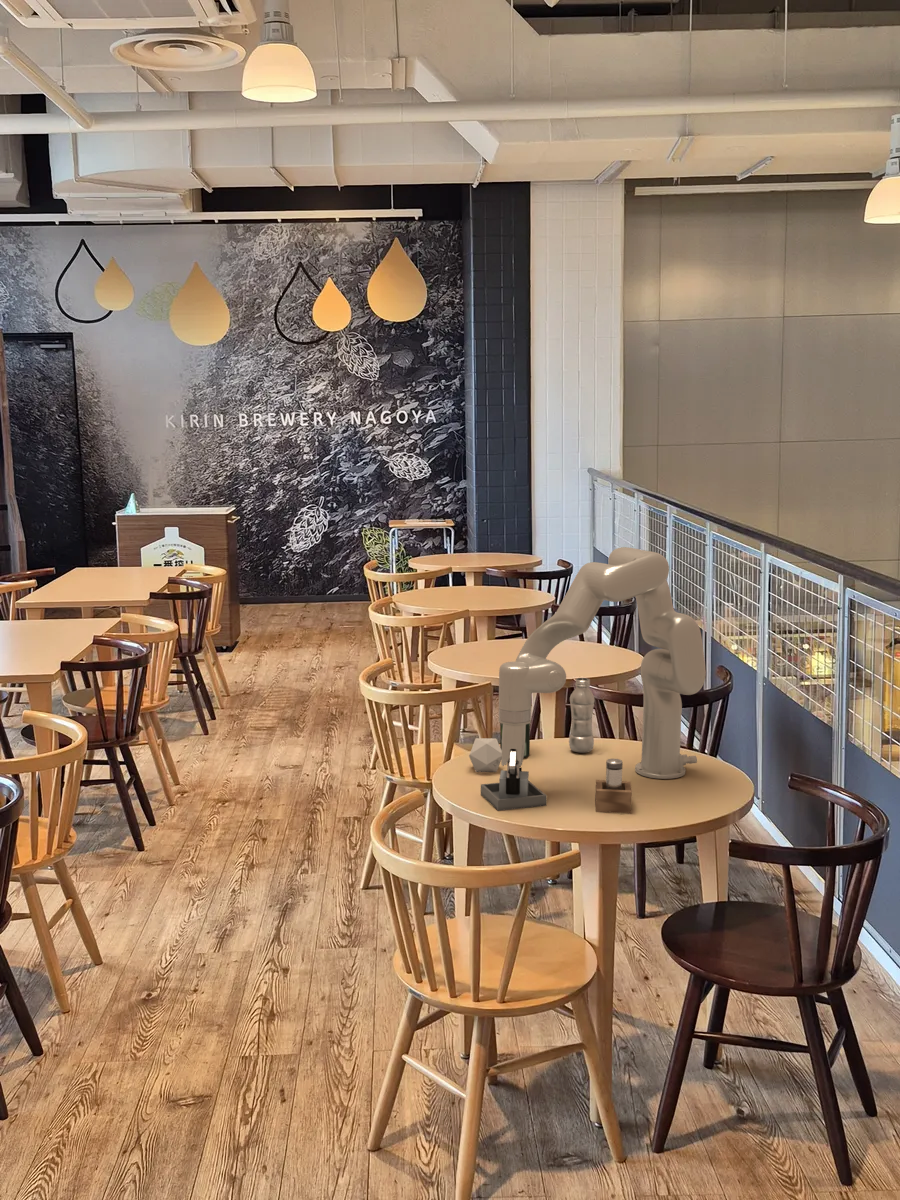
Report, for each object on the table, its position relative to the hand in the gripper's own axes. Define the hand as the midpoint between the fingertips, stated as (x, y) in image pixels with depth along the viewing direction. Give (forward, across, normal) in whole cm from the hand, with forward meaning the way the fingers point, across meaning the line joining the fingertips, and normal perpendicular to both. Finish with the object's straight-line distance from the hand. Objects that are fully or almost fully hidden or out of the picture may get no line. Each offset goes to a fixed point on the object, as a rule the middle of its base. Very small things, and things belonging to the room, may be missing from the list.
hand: (513, 788), depth 272 cm
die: (+3, -22, -8) cm, 24 cm away
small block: (+2, 0, 0) cm, 2 cm away
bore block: (+3, +2, +23) cm, 23 cm away
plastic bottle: (+3, -42, +16) cm, 45 cm away
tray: (+3, 0, 0) cm, 3 cm away
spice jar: (+3, +2, +23) cm, 23 cm away
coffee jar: (+3, -37, -2) cm, 37 cm away
